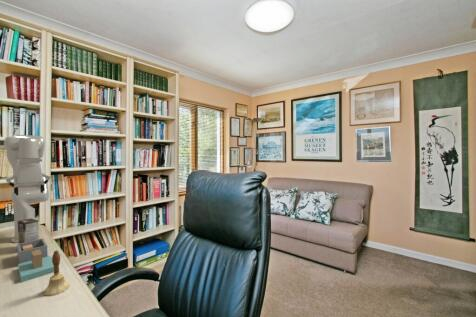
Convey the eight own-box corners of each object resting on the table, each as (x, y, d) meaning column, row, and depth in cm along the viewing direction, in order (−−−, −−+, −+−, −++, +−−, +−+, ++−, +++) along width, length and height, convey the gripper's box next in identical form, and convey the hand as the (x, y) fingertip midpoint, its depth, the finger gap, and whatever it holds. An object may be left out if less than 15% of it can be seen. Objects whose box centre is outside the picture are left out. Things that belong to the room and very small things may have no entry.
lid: (18, 269, 106) (17, 251, 106) (50, 260, 115) (50, 244, 115) (21, 282, 96) (20, 262, 96) (56, 271, 105) (55, 253, 104)
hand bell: (74, 285, 94) (73, 248, 93) (52, 298, 86) (50, 257, 85) (61, 281, 97) (60, 245, 96) (38, 293, 89) (37, 253, 88)
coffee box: (18, 248, 128) (17, 220, 128) (32, 244, 134) (31, 217, 133) (25, 252, 124) (24, 223, 124) (39, 247, 130) (38, 220, 129)
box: (17, 256, 118) (17, 243, 118) (43, 250, 126) (43, 238, 126) (19, 266, 109) (19, 252, 109) (47, 258, 117) (47, 245, 116)
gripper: (49, 160, 127) (49, 190, 128) (5, 161, 114) (6, 194, 115) (51, 161, 122) (52, 192, 123) (5, 162, 109) (6, 197, 110)
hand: (29, 193), depth 119 cm, fingers open, 9 cm apart
